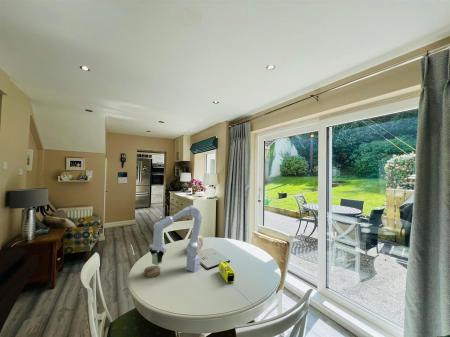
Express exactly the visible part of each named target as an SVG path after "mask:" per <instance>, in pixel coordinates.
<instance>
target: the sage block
mask: <svg viewBox="0 0 450 337" xmlns="http://www.w3.org/2000/svg"><path fill="white" fill-rule="evenodd" d="M151 257H152V258H151V265H152V264H153V266H159V265H160V264H162V263H163V259H162V260H161V262H159V263H158V256H157V253H155V254H151Z"/></svg>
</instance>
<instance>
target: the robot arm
mask: <svg viewBox="0 0 450 337" xmlns="http://www.w3.org/2000/svg"><path fill="white" fill-rule="evenodd" d="M184 216H188V217H189V216H191V217H193V219H194V220H193V225H192V231H191V235H190V239H189V242H188V244H187V246H186V248H185V250H186V252H187V253H186V266H184V267H183V269H185V270H187V271H188V272H192V273H194V272H197V271H199V269H201V258H200V257H199V256H198V254H199V252H198V250H197V248H198V246H197V241H198V236H199V235H200V231H201V226H202V220H203V217H202V214H201V210H199V208H198V207H196V206H195V205H194V204H191V205H188V206H186V207H184V208H182V209H181V210H180V211H178V212H177V213H175V214H173V215H171V216H170V215H169V216H168V215H167V216H165V218H163V219H161V220H159V221H157V222H155V223H154V224H153V226H152V227H153V239H152V240H153V242H152V244H149V245H148V248H149V249H150V250H149V252H150V255H152V254H155V253H157V256H158V263H159V262H161V260H162V261H163V256H164V255H165V253H167V249H166V248H165V247H164V246H163V230H164V229H166V228H168V227H169V226H171V225H173V224H174V222H175V221H177V220H178V219H180V218H182V217H184Z"/></svg>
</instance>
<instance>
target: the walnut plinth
mask: <svg viewBox="0 0 450 337" xmlns="http://www.w3.org/2000/svg"><path fill="white" fill-rule="evenodd" d="M143 271H144V272H143V276H144V277H145V278H147V279H152V278H156V277H158V276H159V275H160V274H161V267H160V266H159V265H149V266H148V267H146V268H145V269H144V270H143Z"/></svg>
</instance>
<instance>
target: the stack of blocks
mask: <svg viewBox="0 0 450 337" xmlns="http://www.w3.org/2000/svg"><path fill="white" fill-rule="evenodd" d="M203 240H204V238H203V235H201V234H199V236H198V241H197V246H198V248H197V250H198V251H199V252H200V251H201V249H202V247H203V244H204V241H203Z"/></svg>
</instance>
